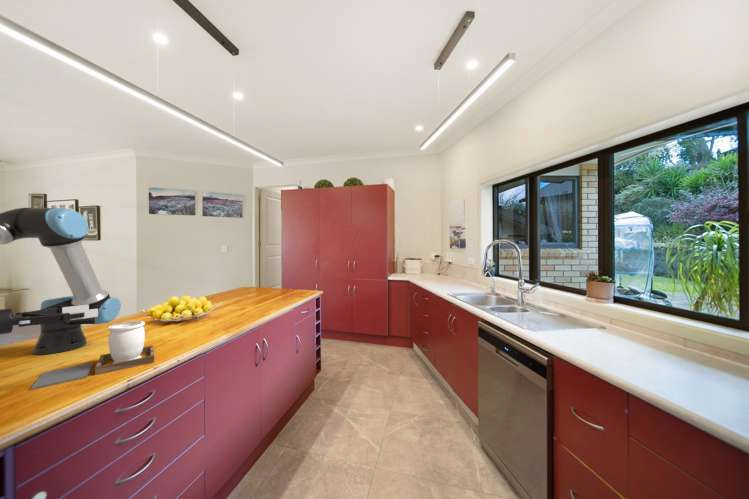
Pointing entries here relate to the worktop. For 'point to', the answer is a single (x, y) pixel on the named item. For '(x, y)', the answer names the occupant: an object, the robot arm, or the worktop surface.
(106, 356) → the brown rectangular frame
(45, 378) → the mat
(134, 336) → the jar
